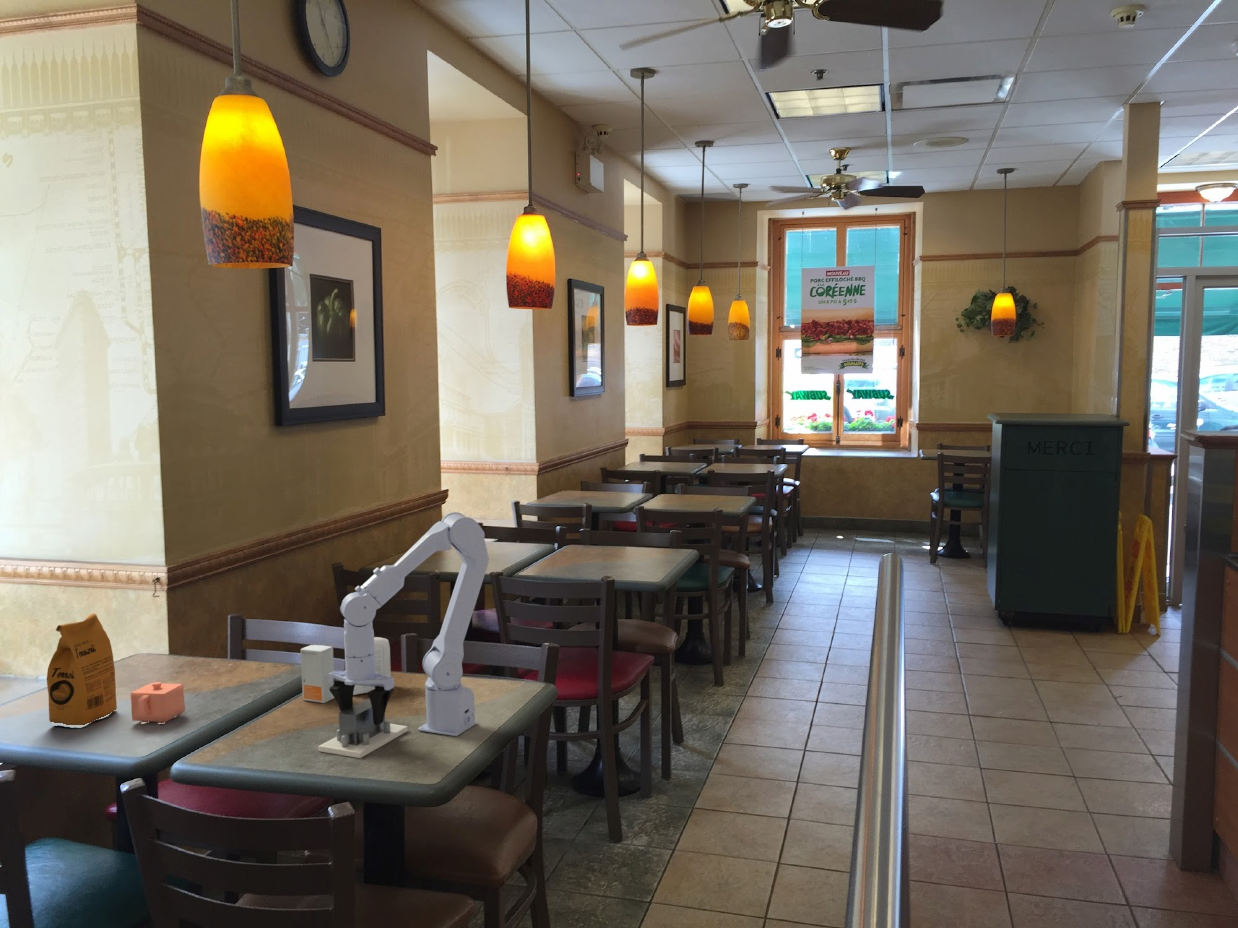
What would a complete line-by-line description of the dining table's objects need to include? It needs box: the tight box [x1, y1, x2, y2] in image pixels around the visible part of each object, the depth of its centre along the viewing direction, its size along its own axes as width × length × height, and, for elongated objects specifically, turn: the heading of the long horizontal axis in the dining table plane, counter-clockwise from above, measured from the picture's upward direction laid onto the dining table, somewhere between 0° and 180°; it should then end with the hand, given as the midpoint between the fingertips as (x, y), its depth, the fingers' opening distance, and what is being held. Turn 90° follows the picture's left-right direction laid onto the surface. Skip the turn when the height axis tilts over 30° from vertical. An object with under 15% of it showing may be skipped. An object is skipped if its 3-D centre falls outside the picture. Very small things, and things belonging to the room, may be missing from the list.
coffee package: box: [46, 613, 118, 725], centre depth 206 cm, size 10×12×22 cm
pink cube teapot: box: [130, 681, 186, 724], centre depth 205 cm, size 8×12×8 cm, turn 170°
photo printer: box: [353, 636, 392, 696], centre depth 221 cm, size 10×4×12 cm, turn 123°
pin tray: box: [317, 721, 408, 759], centre depth 190 cm, size 10×15×3 cm, turn 156°
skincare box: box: [300, 644, 335, 704], centre depth 216 cm, size 6×4×12 cm
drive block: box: [338, 698, 386, 746], centre depth 190 cm, size 4×9×6 cm, turn 157°
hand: (363, 720), depth 190 cm, fingers open, 7 cm apart
